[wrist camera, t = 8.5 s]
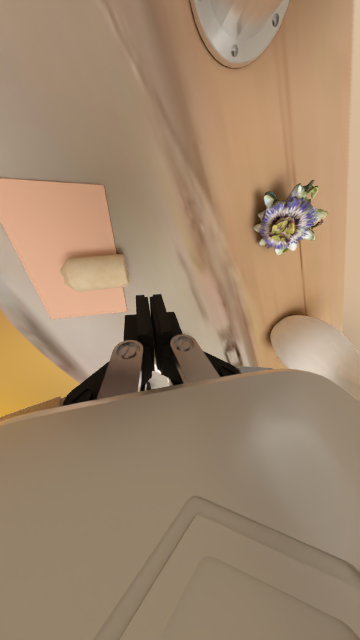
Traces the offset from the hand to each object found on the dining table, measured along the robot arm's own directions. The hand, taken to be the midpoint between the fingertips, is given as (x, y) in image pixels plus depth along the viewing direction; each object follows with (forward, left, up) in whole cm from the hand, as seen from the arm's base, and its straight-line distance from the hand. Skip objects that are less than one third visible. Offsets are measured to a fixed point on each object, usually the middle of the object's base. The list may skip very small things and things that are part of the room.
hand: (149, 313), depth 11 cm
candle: (+3, -2, -20) cm, 21 cm away
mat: (+2, -11, -24) cm, 26 cm away
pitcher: (+30, +48, -24) cm, 62 cm away
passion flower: (-5, +29, -24) cm, 38 cm away
